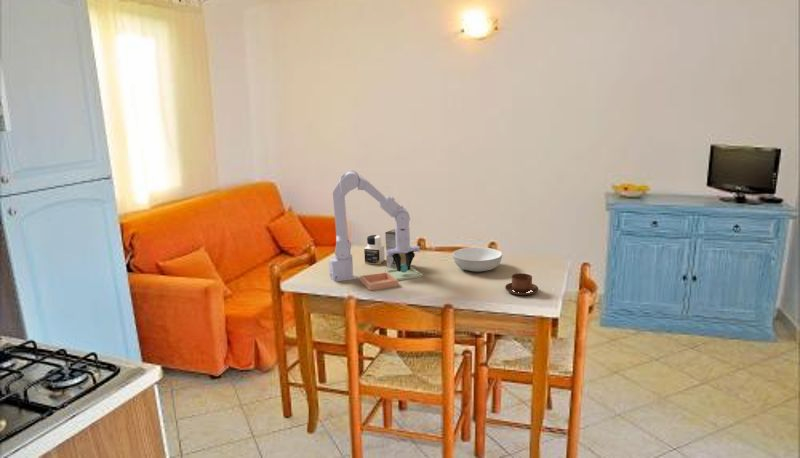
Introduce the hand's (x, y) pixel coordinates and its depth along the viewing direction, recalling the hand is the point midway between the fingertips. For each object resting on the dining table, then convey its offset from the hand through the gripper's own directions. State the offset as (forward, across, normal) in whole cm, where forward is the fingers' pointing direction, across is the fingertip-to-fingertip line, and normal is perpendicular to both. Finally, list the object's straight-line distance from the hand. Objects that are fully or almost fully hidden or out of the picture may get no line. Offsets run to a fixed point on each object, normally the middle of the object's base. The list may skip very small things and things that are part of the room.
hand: (403, 270), depth 227 cm
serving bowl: (+3, +32, -5) cm, 33 cm away
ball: (+1, 0, 0) cm, 1 cm away
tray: (+2, 0, 0) cm, 2 cm away
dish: (+2, -13, -6) cm, 15 cm away
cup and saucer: (+3, +33, -37) cm, 49 cm away
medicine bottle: (+3, -4, +24) cm, 24 cm away
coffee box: (+3, +3, +13) cm, 14 cm away
